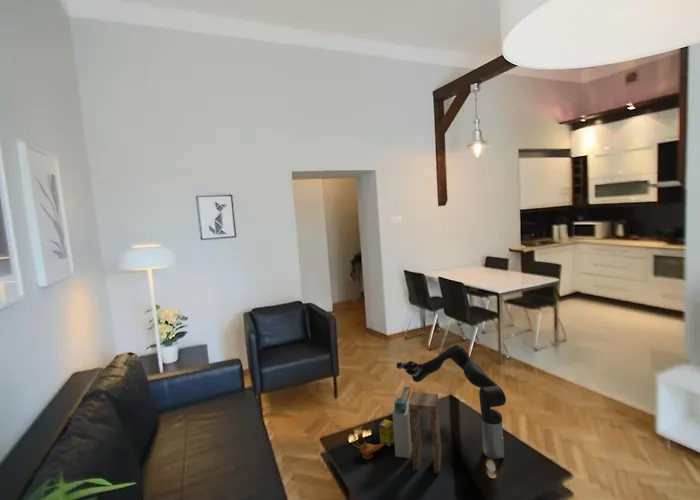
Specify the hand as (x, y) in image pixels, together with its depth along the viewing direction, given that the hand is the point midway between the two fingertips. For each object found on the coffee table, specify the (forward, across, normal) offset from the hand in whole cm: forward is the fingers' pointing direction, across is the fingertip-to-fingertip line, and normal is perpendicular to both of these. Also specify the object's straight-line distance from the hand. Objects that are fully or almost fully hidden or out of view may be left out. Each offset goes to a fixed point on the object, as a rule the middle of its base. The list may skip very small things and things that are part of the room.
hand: (407, 364), depth 208 cm
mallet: (+7, 0, +20) cm, 21 cm away
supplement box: (-2, -10, +40) cm, 42 cm away
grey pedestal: (0, 0, +42) cm, 42 cm away
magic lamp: (+8, -16, +46) cm, 50 cm away
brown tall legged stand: (+8, +12, +47) cm, 49 cm away
